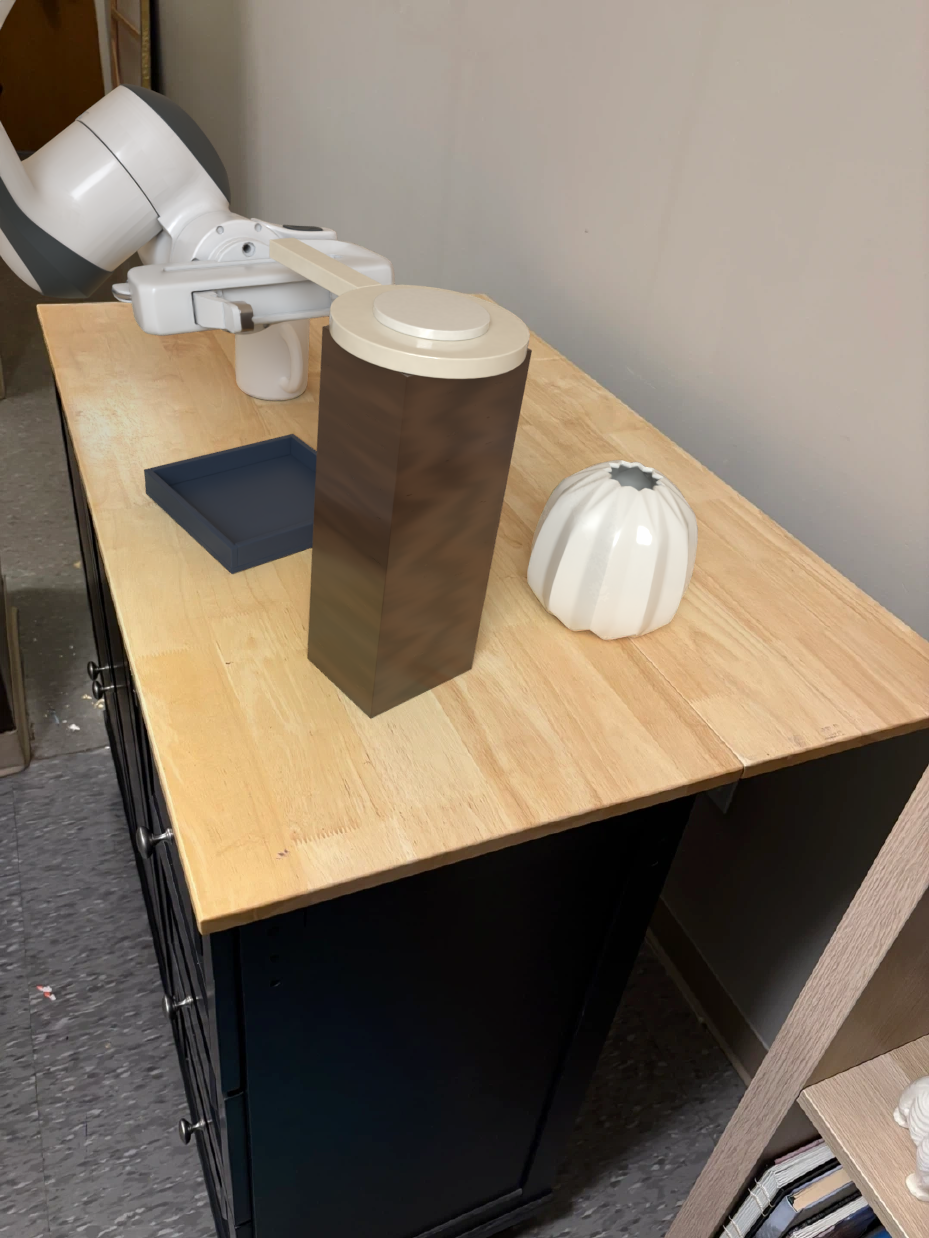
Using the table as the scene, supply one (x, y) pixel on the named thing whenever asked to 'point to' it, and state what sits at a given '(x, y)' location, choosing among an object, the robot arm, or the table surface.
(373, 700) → the stand
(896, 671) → the table surface
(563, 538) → the vase
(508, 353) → the beige frying pan
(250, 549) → the tray
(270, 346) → the mug
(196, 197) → the robot arm
